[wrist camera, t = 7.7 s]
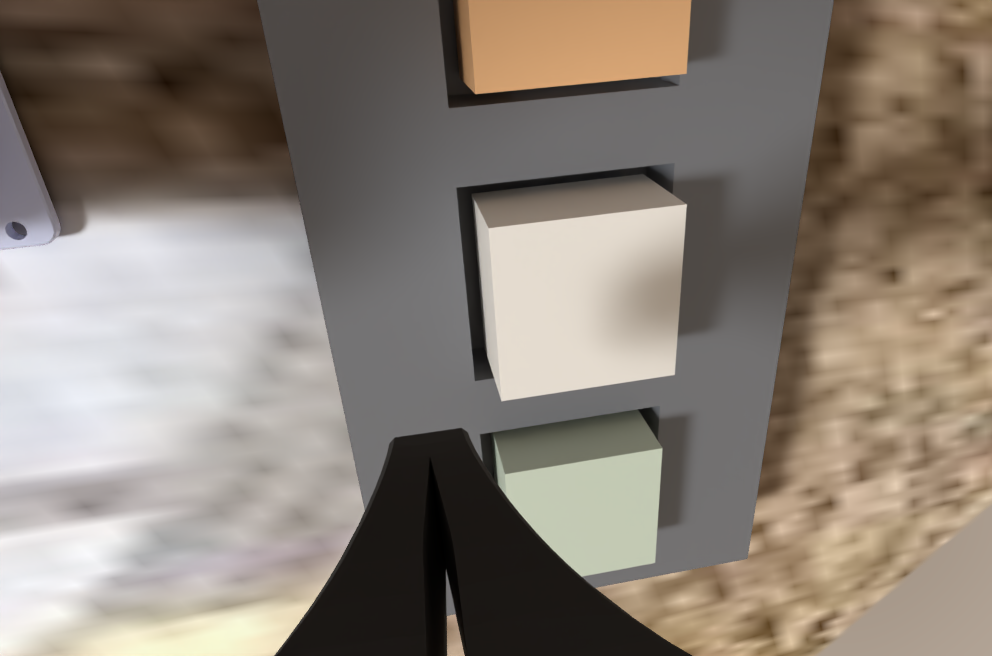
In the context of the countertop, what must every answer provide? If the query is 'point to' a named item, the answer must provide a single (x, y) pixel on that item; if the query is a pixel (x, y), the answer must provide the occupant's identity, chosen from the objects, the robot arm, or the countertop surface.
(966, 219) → the countertop surface
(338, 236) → the keypad
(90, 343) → the countertop surface
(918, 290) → the countertop surface
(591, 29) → the orange key
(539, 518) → the sage key
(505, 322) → the white key
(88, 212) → the countertop surface
